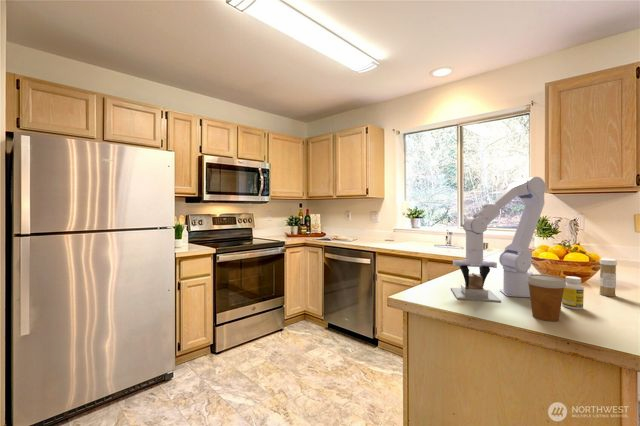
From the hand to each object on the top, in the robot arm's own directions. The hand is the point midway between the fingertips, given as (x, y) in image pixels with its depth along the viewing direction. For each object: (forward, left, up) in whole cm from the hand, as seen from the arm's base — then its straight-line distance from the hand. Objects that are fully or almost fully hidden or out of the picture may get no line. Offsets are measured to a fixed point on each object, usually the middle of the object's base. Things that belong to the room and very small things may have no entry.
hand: (474, 286), depth 114 cm
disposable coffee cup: (-15, +20, -4) cm, 25 cm away
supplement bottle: (-28, +7, -4) cm, 29 cm away
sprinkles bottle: (-48, -12, -4) cm, 50 cm away
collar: (0, 0, -3) cm, 3 cm away
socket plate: (0, 0, -3) cm, 3 cm away
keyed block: (0, 0, -2) cm, 2 cm away
